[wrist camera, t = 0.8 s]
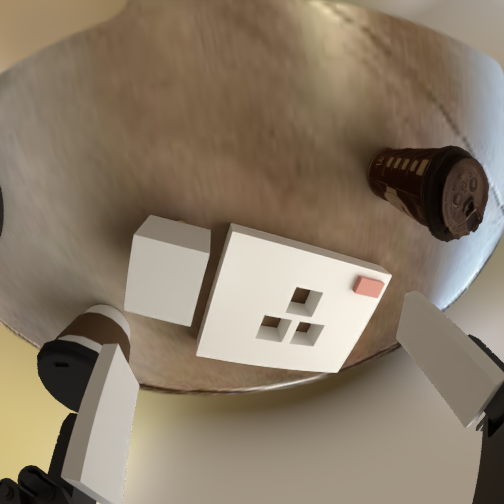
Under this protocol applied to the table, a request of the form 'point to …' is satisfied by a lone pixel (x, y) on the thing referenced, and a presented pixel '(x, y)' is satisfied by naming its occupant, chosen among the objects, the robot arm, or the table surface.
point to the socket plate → (287, 303)
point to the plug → (167, 269)
